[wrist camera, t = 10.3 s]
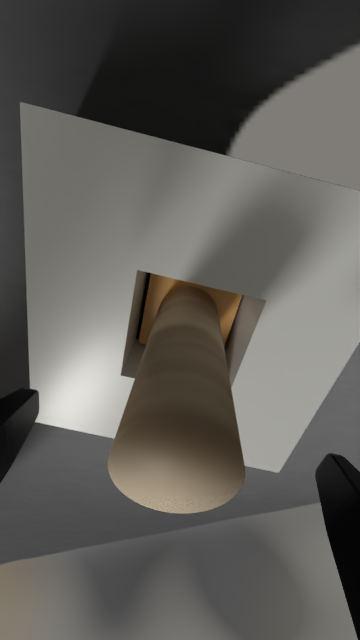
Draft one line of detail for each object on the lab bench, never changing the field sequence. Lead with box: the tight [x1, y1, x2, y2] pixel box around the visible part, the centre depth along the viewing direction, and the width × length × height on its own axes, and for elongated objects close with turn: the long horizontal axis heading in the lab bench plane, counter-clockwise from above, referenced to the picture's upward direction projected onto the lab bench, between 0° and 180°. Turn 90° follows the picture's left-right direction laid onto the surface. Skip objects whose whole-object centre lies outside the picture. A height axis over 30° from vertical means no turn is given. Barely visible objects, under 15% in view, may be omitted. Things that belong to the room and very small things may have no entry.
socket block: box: [20, 102, 360, 473], centre depth 15 cm, size 16×16×4 cm
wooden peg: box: [108, 287, 245, 513], centre depth 11 cm, size 4×4×10 cm
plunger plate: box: [138, 273, 242, 346], centre depth 16 cm, size 5×5×1 cm
